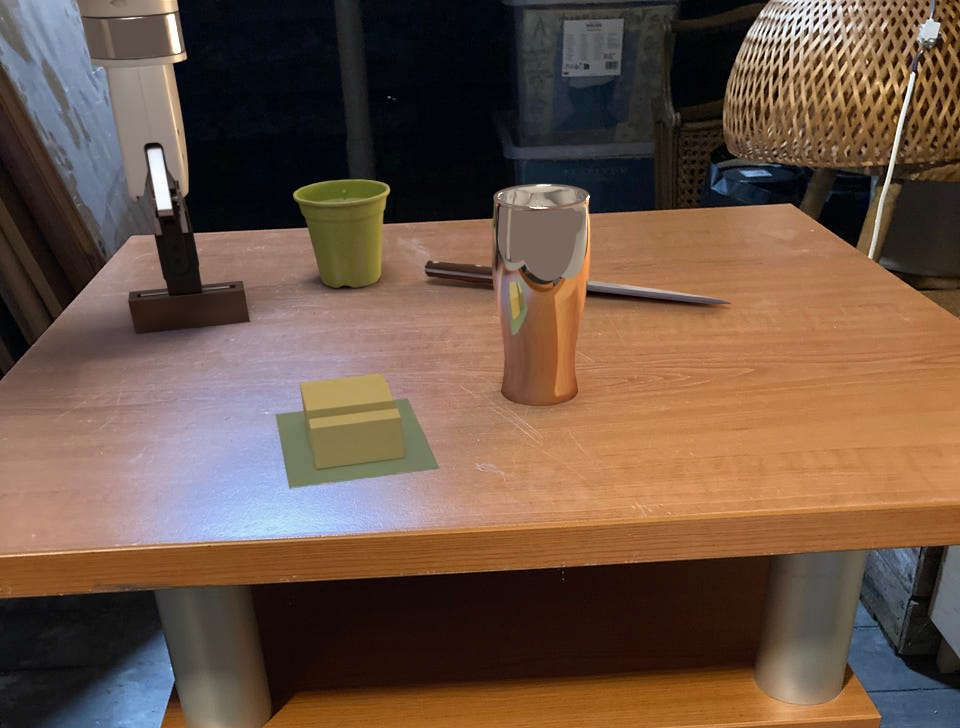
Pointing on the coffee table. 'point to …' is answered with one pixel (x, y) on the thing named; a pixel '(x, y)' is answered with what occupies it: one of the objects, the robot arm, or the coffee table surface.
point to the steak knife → (485, 276)
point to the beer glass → (540, 287)
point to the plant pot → (345, 229)
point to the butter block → (345, 397)
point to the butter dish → (306, 474)
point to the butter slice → (356, 438)
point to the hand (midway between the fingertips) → (182, 273)
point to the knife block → (188, 308)
